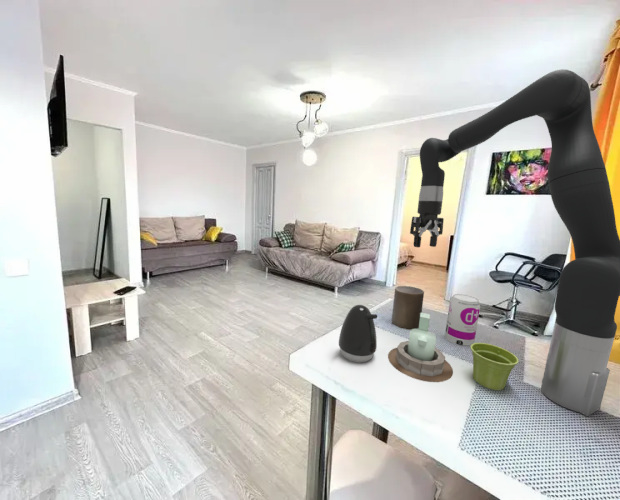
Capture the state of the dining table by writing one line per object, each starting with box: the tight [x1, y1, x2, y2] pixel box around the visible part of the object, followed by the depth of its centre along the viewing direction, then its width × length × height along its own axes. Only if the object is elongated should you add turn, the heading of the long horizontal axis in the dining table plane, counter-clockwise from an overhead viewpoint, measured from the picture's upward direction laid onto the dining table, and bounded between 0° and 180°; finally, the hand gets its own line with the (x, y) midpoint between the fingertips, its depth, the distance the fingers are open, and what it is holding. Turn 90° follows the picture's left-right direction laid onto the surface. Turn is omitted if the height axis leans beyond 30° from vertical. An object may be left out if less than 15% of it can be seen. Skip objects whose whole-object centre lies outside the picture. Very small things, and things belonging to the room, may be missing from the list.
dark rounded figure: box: [338, 304, 378, 363], centre depth 72 cm, size 10×10×15 cm
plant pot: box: [470, 342, 519, 391], centre depth 64 cm, size 9×9×9 cm
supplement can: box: [444, 293, 481, 347], centre depth 84 cm, size 8×8×15 cm
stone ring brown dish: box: [387, 340, 454, 383], centre depth 71 cm, size 16×16×4 cm
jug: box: [407, 312, 437, 361], centre depth 71 cm, size 11×6×12 cm, turn 155°
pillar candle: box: [391, 285, 425, 331], centre depth 94 cm, size 10×10×15 cm
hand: (425, 246), depth 95 cm, fingers open, 8 cm apart
